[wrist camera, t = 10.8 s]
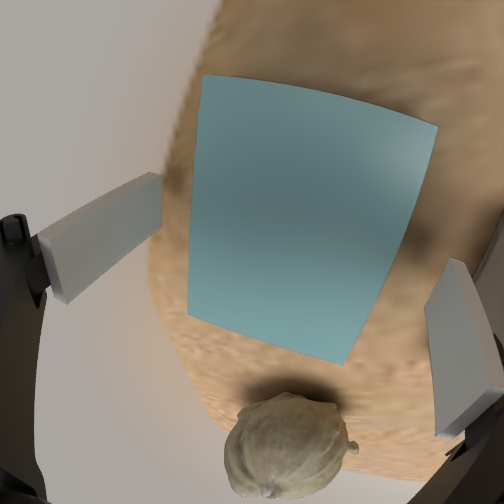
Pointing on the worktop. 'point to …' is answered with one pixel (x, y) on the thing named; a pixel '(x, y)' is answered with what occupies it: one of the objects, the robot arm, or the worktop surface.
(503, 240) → the box
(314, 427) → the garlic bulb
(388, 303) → the worktop surface
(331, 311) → the lid
